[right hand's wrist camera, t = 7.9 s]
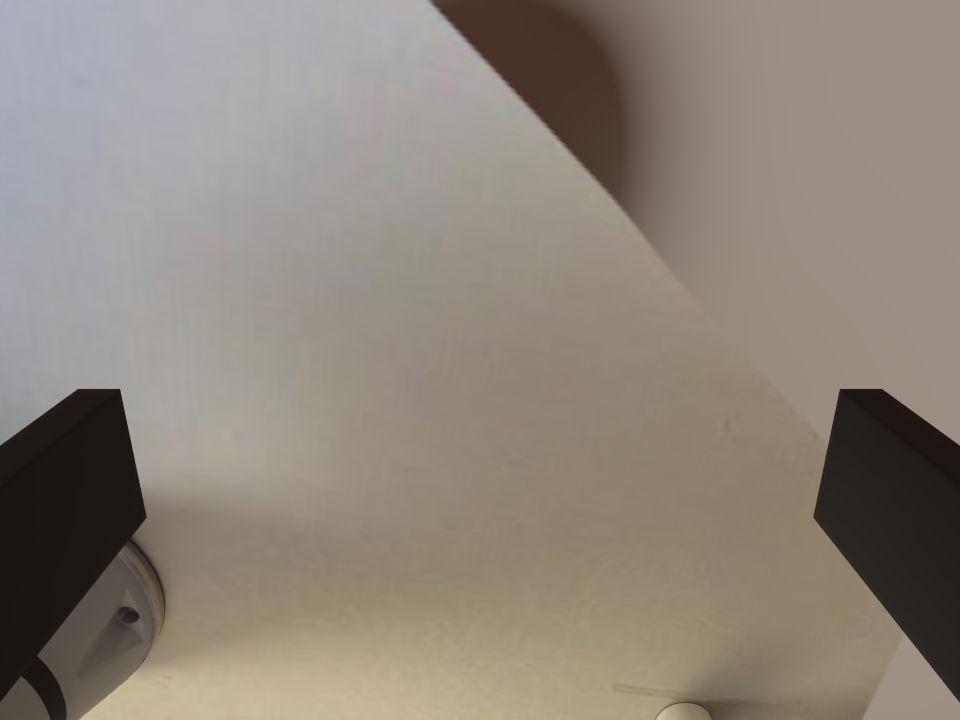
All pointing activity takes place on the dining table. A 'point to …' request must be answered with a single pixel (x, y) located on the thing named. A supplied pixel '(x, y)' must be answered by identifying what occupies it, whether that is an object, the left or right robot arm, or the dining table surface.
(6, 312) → the dining table surface
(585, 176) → the dining table surface
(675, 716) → the white cylindrical bottle
